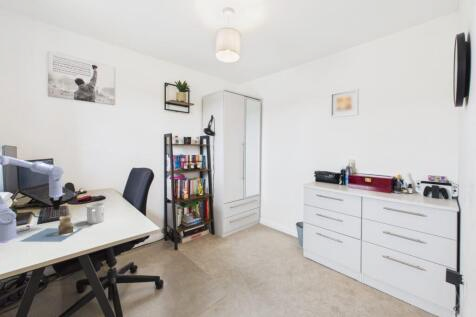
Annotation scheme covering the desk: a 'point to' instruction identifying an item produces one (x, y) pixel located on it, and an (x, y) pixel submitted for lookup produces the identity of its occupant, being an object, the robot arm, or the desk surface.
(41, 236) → the mat
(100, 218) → the mug
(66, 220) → the maple block
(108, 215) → the desk surface
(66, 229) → the walnut base
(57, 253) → the desk surface
